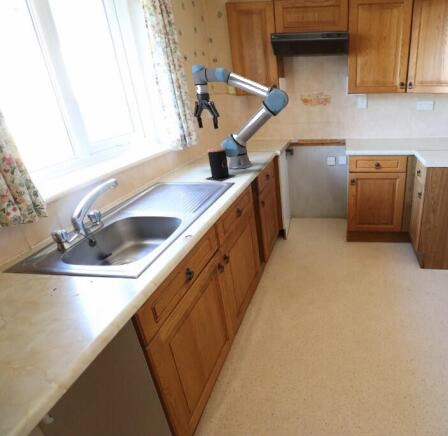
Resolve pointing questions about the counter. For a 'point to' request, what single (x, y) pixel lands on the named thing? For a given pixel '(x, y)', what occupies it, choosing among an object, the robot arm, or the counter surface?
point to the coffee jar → (218, 162)
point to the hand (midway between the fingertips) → (208, 128)
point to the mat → (220, 179)
